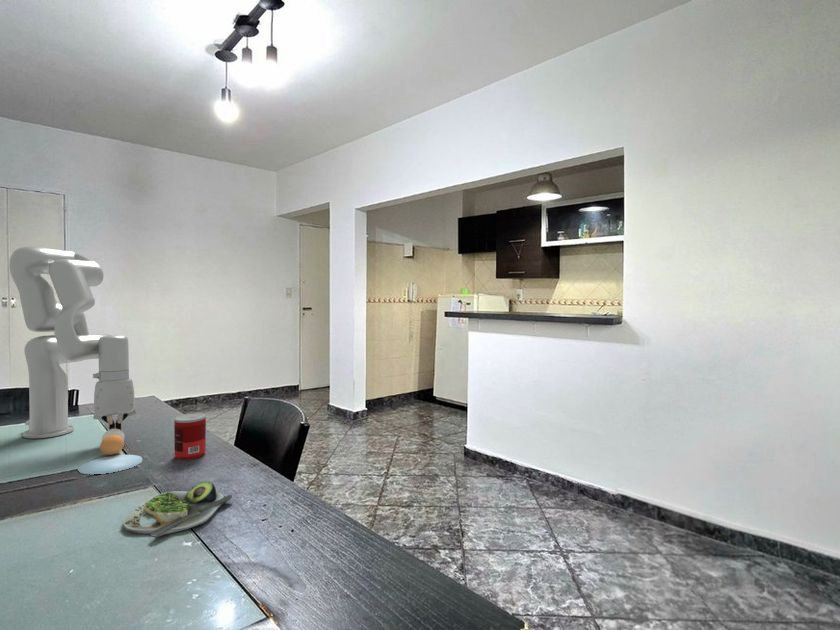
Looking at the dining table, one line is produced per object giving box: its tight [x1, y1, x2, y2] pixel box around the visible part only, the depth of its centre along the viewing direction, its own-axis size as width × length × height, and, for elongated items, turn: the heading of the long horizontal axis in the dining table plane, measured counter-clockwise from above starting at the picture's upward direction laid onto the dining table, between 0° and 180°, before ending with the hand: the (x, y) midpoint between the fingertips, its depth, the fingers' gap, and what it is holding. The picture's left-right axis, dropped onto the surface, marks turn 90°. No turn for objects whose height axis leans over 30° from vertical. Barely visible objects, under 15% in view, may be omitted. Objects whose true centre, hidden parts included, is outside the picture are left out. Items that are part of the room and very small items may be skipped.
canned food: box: [173, 412, 207, 461], centre depth 125 cm, size 8×8×11 cm
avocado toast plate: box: [121, 481, 233, 538], centre depth 90 cm, size 19×18×5 cm
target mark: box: [77, 454, 143, 476], centre depth 117 cm, size 14×14×1 cm
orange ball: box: [99, 435, 125, 456], centre depth 125 cm, size 6×6×6 cm
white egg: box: [101, 428, 125, 441], centre depth 131 cm, size 6×6×6 cm
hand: (115, 435), depth 135 cm, fingers closed
